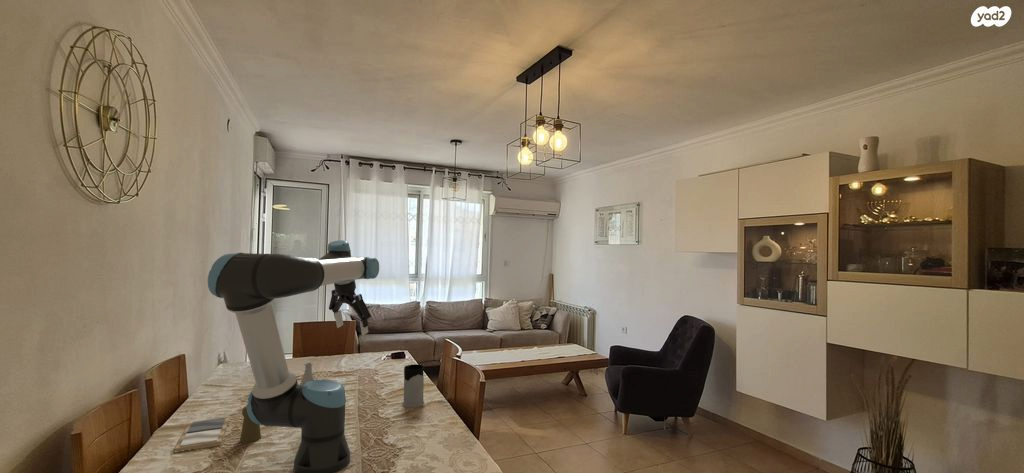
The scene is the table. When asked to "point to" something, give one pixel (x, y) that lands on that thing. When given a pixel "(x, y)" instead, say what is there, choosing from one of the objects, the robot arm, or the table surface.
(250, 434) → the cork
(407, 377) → the glass holder
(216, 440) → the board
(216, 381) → the table surface
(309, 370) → the flask
